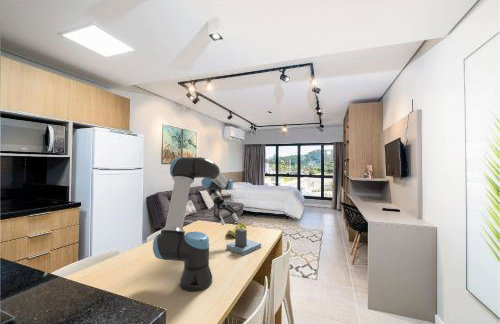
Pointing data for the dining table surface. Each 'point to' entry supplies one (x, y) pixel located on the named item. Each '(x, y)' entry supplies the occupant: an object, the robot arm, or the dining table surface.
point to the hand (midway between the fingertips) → (230, 222)
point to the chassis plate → (250, 247)
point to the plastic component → (240, 225)
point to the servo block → (240, 238)
